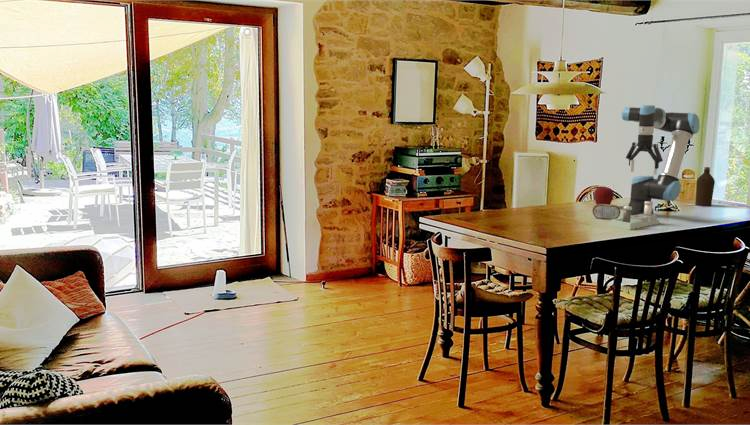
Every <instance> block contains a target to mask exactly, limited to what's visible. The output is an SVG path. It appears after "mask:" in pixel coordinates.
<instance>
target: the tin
mask: <svg viewBox="0 0 750 425" xmlns="http://www.w3.org/2000/svg"><path fill="white" fill-rule="evenodd" d="M592 215H593V216H594V217H595V218H596V219H601V220H611V219H617V218H620V215H621V209H620V207H619V206H618V205H616V204H610V205H609V204H595V205H594V206H593V207H592Z"/></svg>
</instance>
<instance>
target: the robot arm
mask: <svg viewBox="0 0 750 425" xmlns="http://www.w3.org/2000/svg"><path fill="white" fill-rule="evenodd" d="M621 118H622V120H623V121H625V122H634V123H638V135H637V142H636V141H635V142H634V141H633V142H632V143H631V147H630V149H629V150H628V152H627V154H626V157H625V159H627V160H628V166H629V173H633V172H635V159H636V157H637V156H638V155H639V153H640V152H645V153H646V152H647V153H648V154H649V155H650V157H651V158H652V160H653V163H652V165H653V166H652V175H640V176H638V175H637V176H634V177H632V179H631V185H630V200H629V203H628V205H627V206H631V207H632V210H631V216H632V215H638V214H644V207H645V204H644V203H645V201H652V200H659V201H666V202H669V201H670V202H672V201H673V202H674V201H675V200H677V198H678V197H679V196H680V194H681V191H682V190H681V189H682V183H681V182H680V178H679V172H680V170H681V167H682V163H683V159H684V157H685V154H686V149H687V147H688V143H689V140H691V139H693V137H694V135H696V134H698V133H699V131H700V126H701V125H700V118H699V116H698V115H697V113H695V112H694V113H693V112H692V113H691V112H672V111H671V112H666V110H664V109H663V108H661V107H656V106H655V105H654V104H642V105H641V106H640V107H630V106H629V107H624V108H623V109H622V111H621ZM654 129H656V130H659V131H663V132H667V133H671V135H672V136H673V137H672V139H671V143H670V145H669V148H668V152H667V156H666V158H665V163H664V165H663V169H662V171H661V173H660V174H658V175H657V173H658V171H657V170H658V169H659V165H660V163H661V162H663V161H664V160H663V157H662V154H661V152H660V148H659V144H658V143H655V144H653V140H654V135H653V134H654ZM634 158H635V159H634ZM655 175H657V178H654V177H655ZM651 214H652V215H654V210H653V207H652V212H651Z"/></svg>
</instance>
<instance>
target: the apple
mask: <svg viewBox="0 0 750 425" xmlns="http://www.w3.org/2000/svg"><path fill="white" fill-rule="evenodd" d="M614 194H615V193H614V191H613V189H612V188H610V187H605V186H603V187H602V186H600V187H596V189H595V190H594V192H593V195H594V201H595V205H597V204H609V205H612V202H613V199H614Z"/></svg>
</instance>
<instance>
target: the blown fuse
mask: <svg viewBox="0 0 750 425" xmlns="http://www.w3.org/2000/svg"><path fill="white" fill-rule="evenodd" d="M622 209H623V217H622V218H623V222H628V223H631V222H630V219H631V216H632V215H631V210H632V207H631V206H628V205H624V206H623V208H622Z"/></svg>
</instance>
